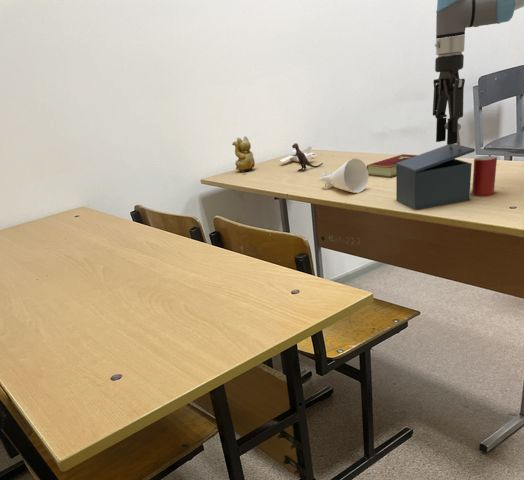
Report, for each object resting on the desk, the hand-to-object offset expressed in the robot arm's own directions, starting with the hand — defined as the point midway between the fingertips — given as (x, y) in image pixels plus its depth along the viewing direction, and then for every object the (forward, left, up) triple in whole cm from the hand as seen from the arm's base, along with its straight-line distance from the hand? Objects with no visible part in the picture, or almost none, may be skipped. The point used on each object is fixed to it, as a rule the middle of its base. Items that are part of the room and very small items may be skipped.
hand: (446, 142), depth 158 cm
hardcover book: (-1, -49, -17) cm, 52 cm away
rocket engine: (+24, -32, -17) cm, 43 cm away
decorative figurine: (+55, -96, -17) cm, 112 cm away
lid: (+4, 0, -4) cm, 6 cm away
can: (-12, +1, -17) cm, 21 cm away
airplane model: (+29, -97, -17) cm, 102 cm away
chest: (+4, 0, -17) cm, 17 cm away
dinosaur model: (+29, -78, -17) cm, 85 cm away
